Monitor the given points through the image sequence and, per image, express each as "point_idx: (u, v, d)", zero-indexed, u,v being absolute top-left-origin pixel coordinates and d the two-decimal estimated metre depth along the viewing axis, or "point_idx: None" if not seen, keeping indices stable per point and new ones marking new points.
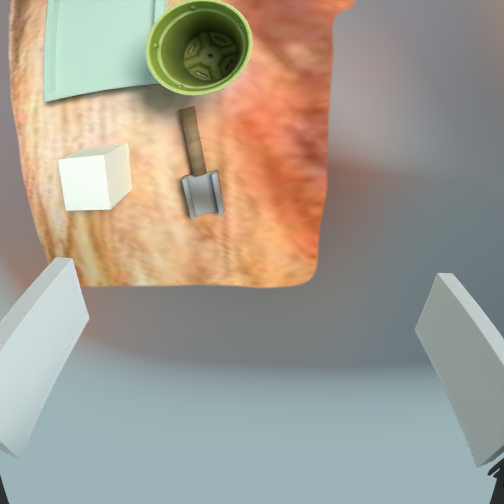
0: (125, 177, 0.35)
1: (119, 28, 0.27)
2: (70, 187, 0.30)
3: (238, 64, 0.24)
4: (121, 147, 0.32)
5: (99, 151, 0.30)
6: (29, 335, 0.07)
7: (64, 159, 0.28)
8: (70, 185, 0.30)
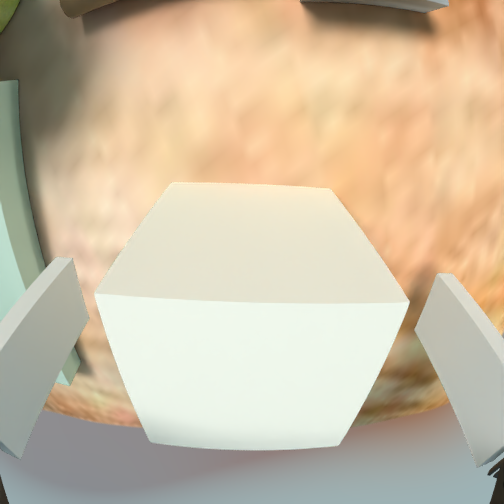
0: (279, 202, 0.10)
1: None
2: (255, 434, 0.08)
3: None
4: (159, 202, 0.09)
5: None
6: (30, 335, 0.07)
7: None
8: (246, 432, 0.08)
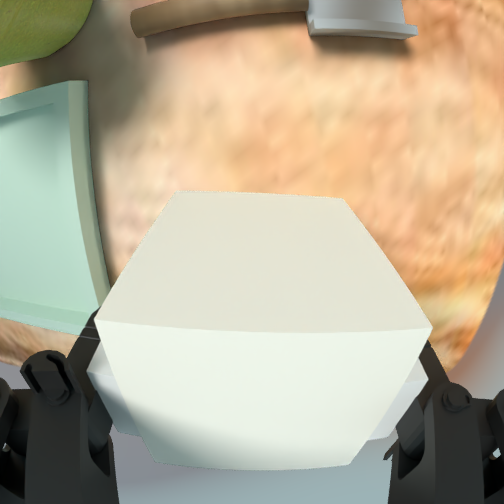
0: (290, 214, 0.09)
1: None
2: (265, 456, 0.07)
3: None
4: (164, 214, 0.09)
5: None
6: None
7: None
8: (255, 455, 0.07)
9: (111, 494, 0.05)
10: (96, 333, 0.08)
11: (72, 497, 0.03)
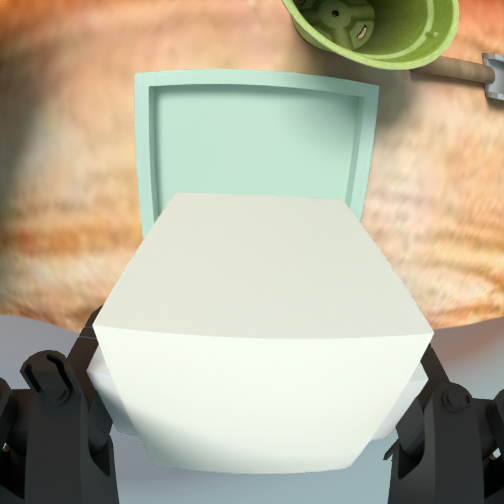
0: (290, 216, 0.09)
1: (257, 152, 0.21)
2: (265, 460, 0.07)
3: None
4: (163, 216, 0.09)
5: None
6: None
7: None
8: (255, 458, 0.07)
9: (111, 494, 0.05)
10: None
11: (72, 497, 0.03)
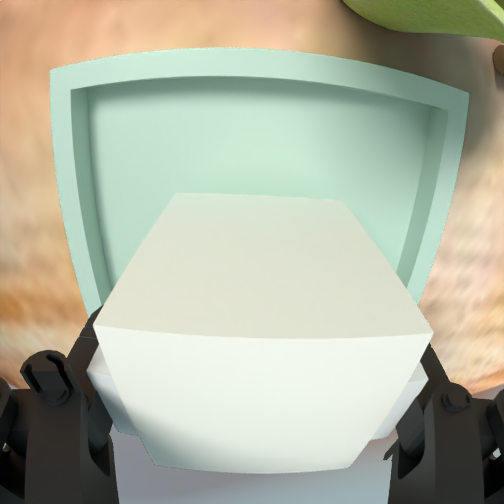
0: (291, 216, 0.09)
1: None
2: (265, 459, 0.07)
3: None
4: (163, 216, 0.09)
5: None
6: None
7: None
8: (255, 458, 0.07)
9: (111, 494, 0.05)
10: None
11: (72, 497, 0.03)
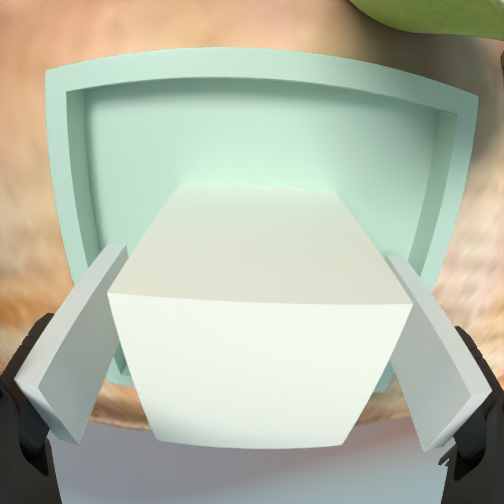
0: (286, 205, 0.10)
1: None
2: (261, 432, 0.08)
3: None
4: (169, 205, 0.10)
5: None
6: (92, 317, 0.08)
7: None
8: (252, 431, 0.08)
9: (51, 493, 0.04)
10: (36, 341, 0.07)
11: (6, 491, 0.03)
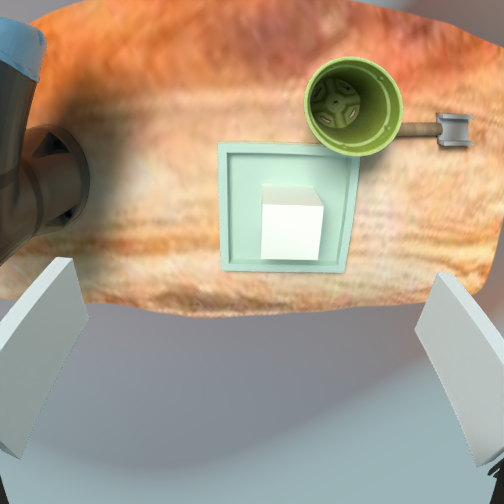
0: (296, 190, 0.35)
1: None
2: (293, 249, 0.32)
3: (369, 73, 0.24)
4: (263, 190, 0.34)
5: None
6: (29, 335, 0.07)
7: (261, 251, 0.33)
8: (290, 248, 0.32)
9: None
10: None
11: None
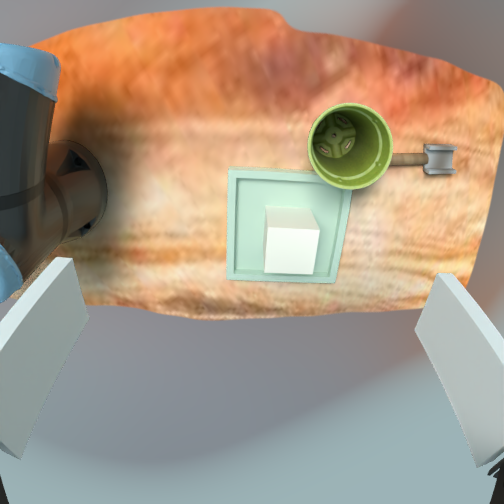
0: (296, 212, 0.40)
1: None
2: (292, 265, 0.38)
3: (366, 115, 0.30)
4: (267, 211, 0.40)
5: None
6: (30, 335, 0.07)
7: (265, 266, 0.38)
8: (289, 264, 0.38)
9: None
10: None
11: None
